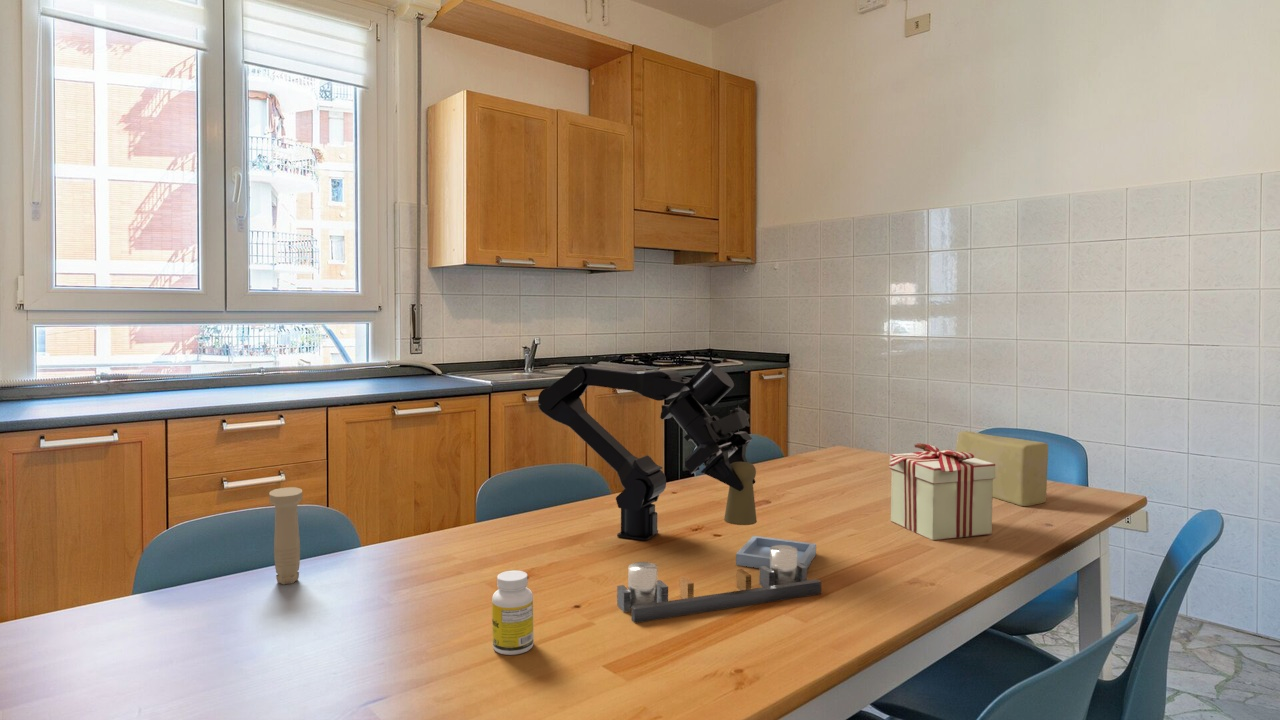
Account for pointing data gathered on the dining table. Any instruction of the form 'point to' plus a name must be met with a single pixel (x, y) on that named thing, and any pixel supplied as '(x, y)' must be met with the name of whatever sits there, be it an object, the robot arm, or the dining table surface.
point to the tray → (759, 551)
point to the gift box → (942, 493)
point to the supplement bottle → (512, 614)
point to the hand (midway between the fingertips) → (748, 486)
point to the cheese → (1011, 465)
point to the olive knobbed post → (742, 497)
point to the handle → (286, 533)
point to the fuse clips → (776, 585)
